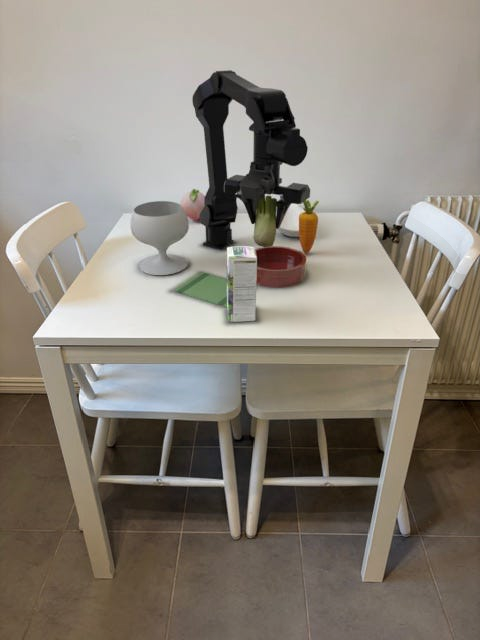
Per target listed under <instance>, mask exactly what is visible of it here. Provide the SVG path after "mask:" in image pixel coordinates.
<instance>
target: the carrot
mask: <svg viewBox="0 0 480 640" xmlns="http://www.w3.org/2000/svg"><path fill="white" fill-rule="evenodd" d="M319 202H320V201H319V200H317V199H316V200H315V201H314V202H313V205H312V206H311V202H310V200H309V199H307V200H305V201H304V202H303V203H302V204H303V206H304V207H302V208H303V209H304V210H305V211H306V212H303V213H301V214H300V215H299V237H298V238H299V244H300V247H301V249H302V251H303V252H302V253H303V254H304V255H308V254H309V252H310V251H311V249H312V248H313V246H314V244H315V240H316V237H317V232H318V223H319V216H318V214H317V213H316V212H314V210H315V208H316V207H317V205H318V204H319Z"/></svg>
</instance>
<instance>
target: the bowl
mask: <svg viewBox="0 0 480 640" xmlns="http://www.w3.org/2000/svg"><path fill="white" fill-rule="evenodd" d="M255 251H256V256H257V282H256V285H258V286H261V287H266V288H287V287H292V286H295V285H298V284H299V283H302V282H303V280H305V278H306V274H307V273H306V272H307V257H306V254H305V253H304V252H302V251H300V250H298V249H296V248H291V247H289V246H282V245H281V246H278V245H272V246H270V247H262V246H260V247H258V248H255Z"/></svg>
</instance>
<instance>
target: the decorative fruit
mask: <svg viewBox="0 0 480 640" xmlns="http://www.w3.org/2000/svg"><path fill="white" fill-rule="evenodd" d="M204 198H205V195H204V194H203V192H200V190H199V189H196V188H193V189H191V191H188V192H186V193H185V194H183V196H182V197H181V199H180V205H181V206H182V207H183V209H184V210H185V212H186V215H187V218H188V219H191V220H193V221H198V220H200V218H199V215H200V213H201V211H202V210H203V208H204V206H205V201H204Z"/></svg>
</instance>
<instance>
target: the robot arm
mask: <svg viewBox="0 0 480 640" xmlns="http://www.w3.org/2000/svg"><path fill="white" fill-rule="evenodd" d="M191 101H192V106H193V108H194V112H195V113H194V114H195V117H196V118H197V120H198V121H199V123H200V124H201V126H202V128H203V136H204V145H205V153H206V154H205V156H206V164H207V165H206V167H207V175H208V176H207V177H208V189H207V191H206V194H205V195H204V196H205V198H204V201H205V206H204V208H203V210H202V211H201V213H200V215H199V218H200V219H199V222H200V224H201V225H203V226H204V227H205V241H204V242H202V246H205V247H209V248H212V249H213V248H214V249H217V250H224V249H225V248H227V247H230V245H232V244H233V243H235V240H234V239H233V231H232V230H233V229H232V228H231V224H232V223H233V224H234V223H236V221H237V220H236V219H237V215H238V209H239V207H238V201H237V199H239V200H240V201H241V202H242V203H243V205H244V207H245V210H246V212H247V216H248V219H249V220H250V224H251V225H255V219H256V212H257V202H256V200H257V201H258V200H261V199H262V198H263V197H264V195H265V196H266V195H268V196H272V195H276V196H279V198H280V200H278V199H277V200H278V201H277V202H275V203H276V206H277V215H276V230H278V228H279V227H280V225H281V223H282V221H283V219H284V216H285V214H286V212H287V210H288V208H289V206H290V205H291V204H292V203H293V204H298V205H301V204H303V202H304V201H305V200H306V201H307V200H309V198H311V188H310V186H309V185H308V184H306V183H298V182H292V183H291V184H289V185H286V186H283V185H280V184H282V183H283V178H282V177H280V176H281V165H283V164H285V165H288V166H290V167H296V166H299V165H301V164H302V163H303V161H305V159H306V157H307V154H308V151H309V150H308V149H309V147H308V143H307V141H306V139H305V137H303V136H301V129H300V128H297V125H296V121H295V120H296V118H295V116H294V114H293V112H292V110H291V107H290V106H291V105H290V103H289V100H288V98H287V95H286V93H285V91H283V90H281V89H277V88H269V87H260V86H258V85H256V84H254V83H253V82H251V81H249V80H248V79H246V78H243V77H242V76H240V75H238V74H237V73H236V71H233V70H231V69H228V70H216V71H214V72H212V74H210V77H209V78H208V79H206V80H204V81H203V82H202V83H201V84H199V85H198V86H197V87H196V89H195V91H194V92H193V95H192V98H191ZM232 101H235V102H236V103H238V104H240V105H241V106H243V107H244V108H245V114H246V116H247V117H248V118H249V119H250V120H251V121H252V123H251V124H250V126H249V127H248V130H249V131H250V132H253V152H252V153H253V156H252V157H253V158H252V159H253V160H252V161H251V162H250V165H249V171H248V173H246V174H245V175H241V174H234V175H232V176H230V177H228V169H227V168H228V167H227V157H226V145H225V144H226V143H225V131H224V126H225V123H226V121H227V119H228V116H229V113H230V112H229V111H230V104H231V103H232Z"/></svg>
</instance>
